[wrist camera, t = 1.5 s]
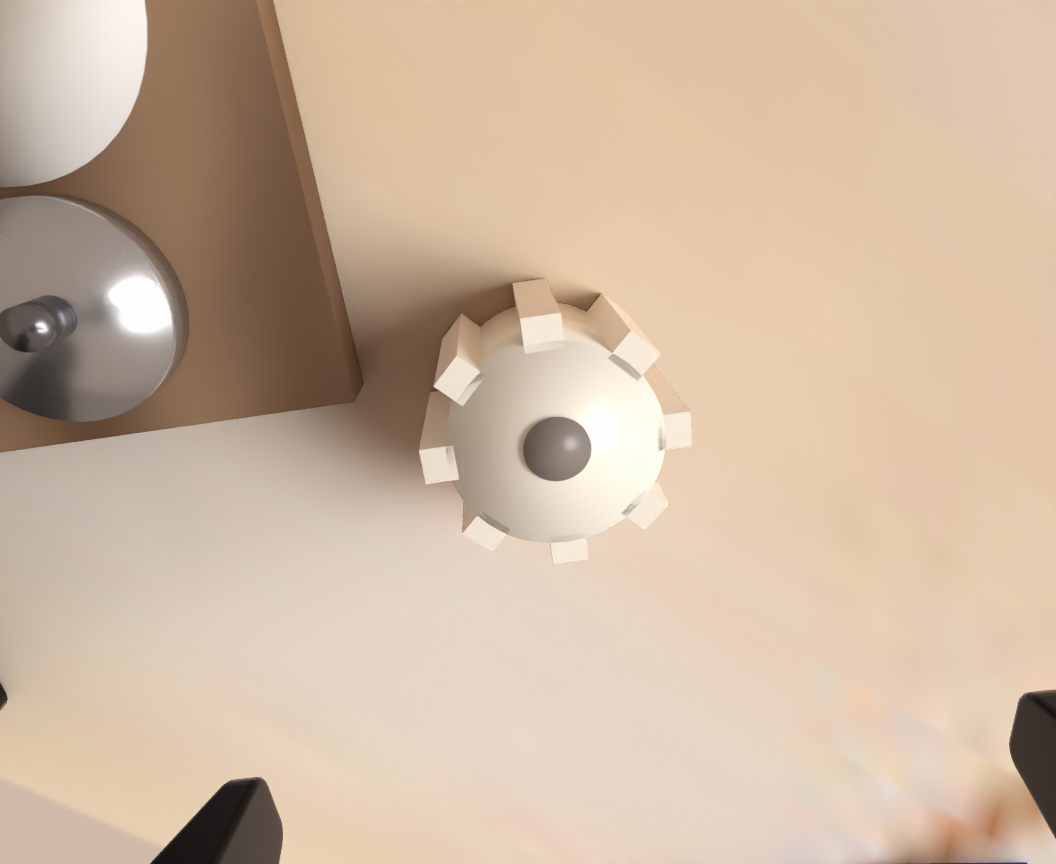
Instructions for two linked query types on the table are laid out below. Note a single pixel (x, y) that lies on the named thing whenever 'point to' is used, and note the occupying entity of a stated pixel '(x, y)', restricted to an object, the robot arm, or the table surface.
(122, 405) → the gear peg base
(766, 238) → the table surface
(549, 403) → the loose gear
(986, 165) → the table surface
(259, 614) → the table surface
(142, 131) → the gear board
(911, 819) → the table surface
